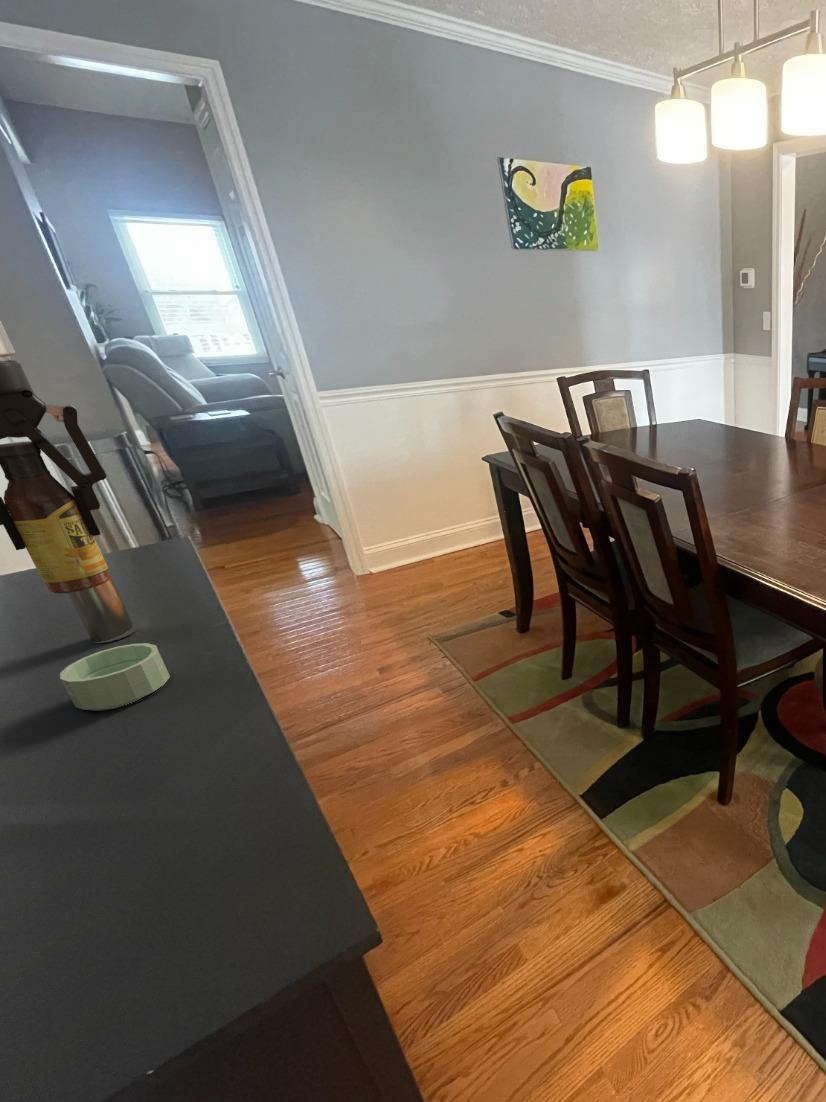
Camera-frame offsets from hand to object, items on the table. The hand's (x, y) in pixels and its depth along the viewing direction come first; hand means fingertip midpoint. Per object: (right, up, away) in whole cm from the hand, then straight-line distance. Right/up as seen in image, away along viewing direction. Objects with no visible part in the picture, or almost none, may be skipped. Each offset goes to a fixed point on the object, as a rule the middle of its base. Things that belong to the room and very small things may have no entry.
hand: (59, 539), depth 80 cm
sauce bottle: (0, -7, +3) cm, 7 cm away
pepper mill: (-8, -15, +15) cm, 22 cm away
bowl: (+8, -21, +1) cm, 22 cm away
